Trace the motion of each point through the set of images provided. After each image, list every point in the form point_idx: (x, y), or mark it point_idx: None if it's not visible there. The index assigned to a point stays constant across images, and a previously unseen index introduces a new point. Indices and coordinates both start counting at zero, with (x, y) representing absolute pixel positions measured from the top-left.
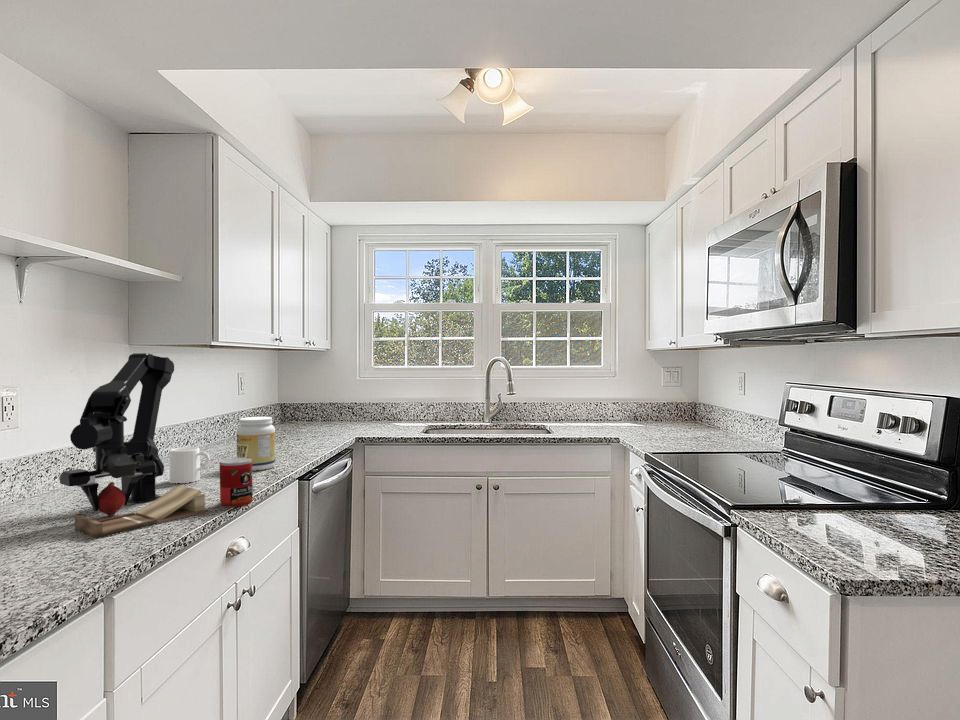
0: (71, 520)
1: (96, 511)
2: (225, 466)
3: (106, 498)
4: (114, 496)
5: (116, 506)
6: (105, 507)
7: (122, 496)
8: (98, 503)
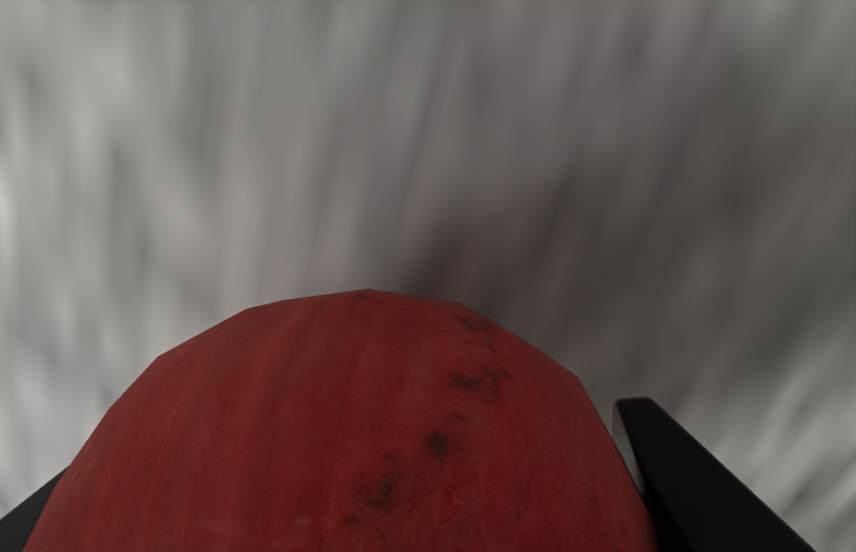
0: (815, 496)
1: (642, 398)
2: None
3: (530, 535)
4: (292, 523)
5: (306, 303)
6: (530, 351)
7: (67, 514)
8: (648, 523)
